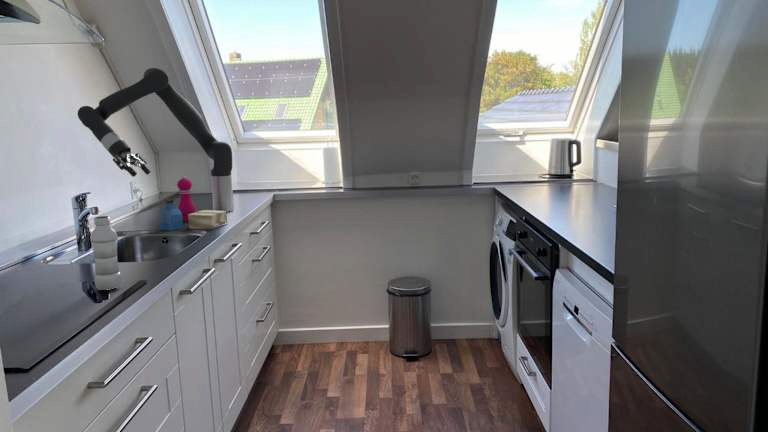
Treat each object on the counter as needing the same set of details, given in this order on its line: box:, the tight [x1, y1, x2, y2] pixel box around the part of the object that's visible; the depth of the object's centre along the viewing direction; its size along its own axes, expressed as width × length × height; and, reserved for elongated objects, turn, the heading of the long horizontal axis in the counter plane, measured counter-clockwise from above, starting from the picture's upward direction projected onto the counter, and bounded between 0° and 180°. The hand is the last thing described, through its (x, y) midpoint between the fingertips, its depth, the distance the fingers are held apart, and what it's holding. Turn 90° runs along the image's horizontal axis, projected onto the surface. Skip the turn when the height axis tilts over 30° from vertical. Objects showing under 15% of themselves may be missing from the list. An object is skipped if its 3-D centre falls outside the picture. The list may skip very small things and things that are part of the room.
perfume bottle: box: [158, 198, 184, 232], centre depth 229 cm, size 6×6×12 cm
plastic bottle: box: [89, 215, 123, 291], centre depth 149 cm, size 6×7×20 cm
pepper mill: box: [176, 174, 196, 223], centre depth 245 cm, size 7×7×20 cm
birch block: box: [188, 209, 228, 230], centre depth 233 cm, size 11×11×6 cm
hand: (142, 174), depth 229 cm, fingers open, 8 cm apart
